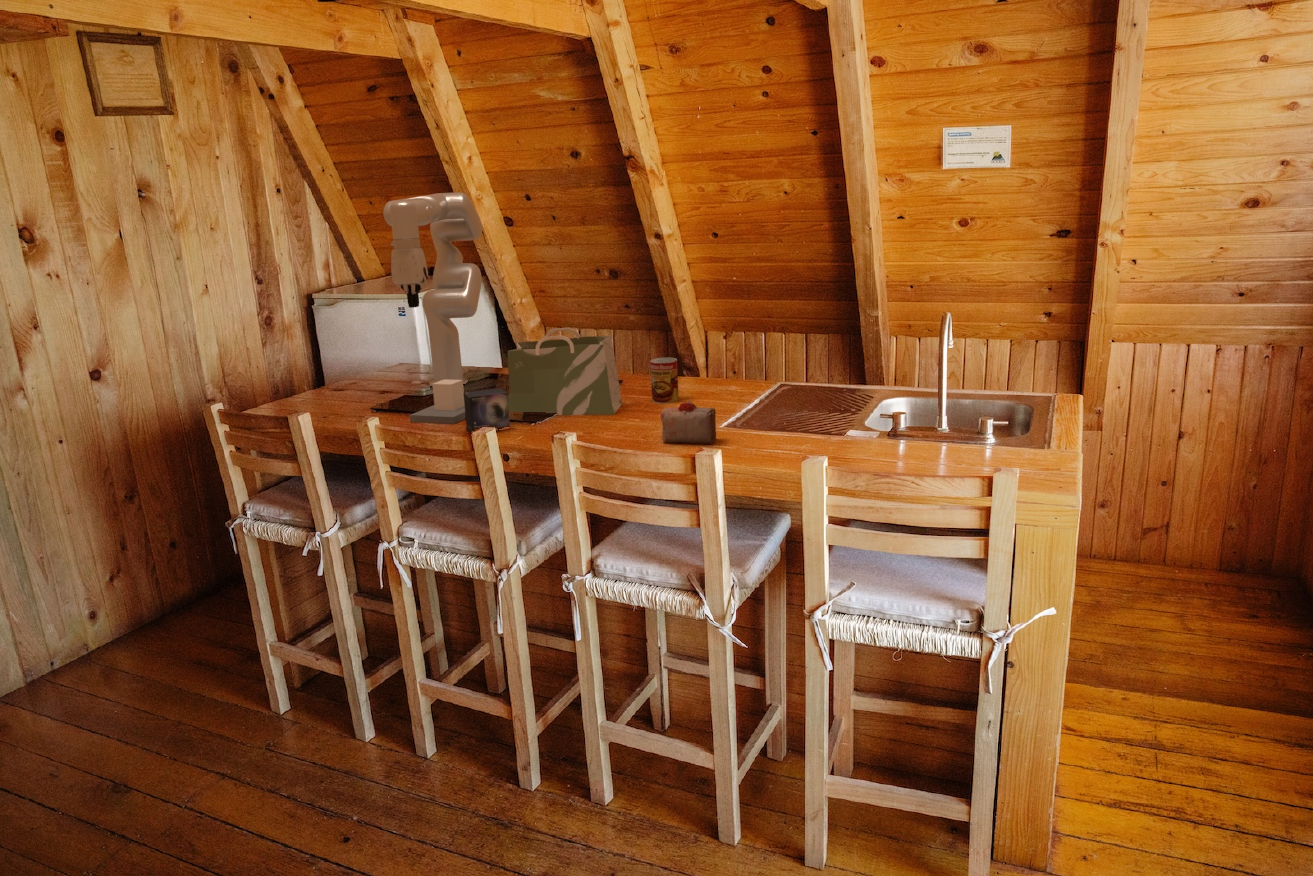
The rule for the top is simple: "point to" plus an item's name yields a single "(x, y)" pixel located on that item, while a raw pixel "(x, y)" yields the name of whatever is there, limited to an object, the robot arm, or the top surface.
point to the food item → (688, 424)
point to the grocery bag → (564, 376)
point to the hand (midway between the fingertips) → (414, 306)
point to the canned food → (664, 380)
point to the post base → (438, 416)
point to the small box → (486, 409)
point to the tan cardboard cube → (448, 394)
